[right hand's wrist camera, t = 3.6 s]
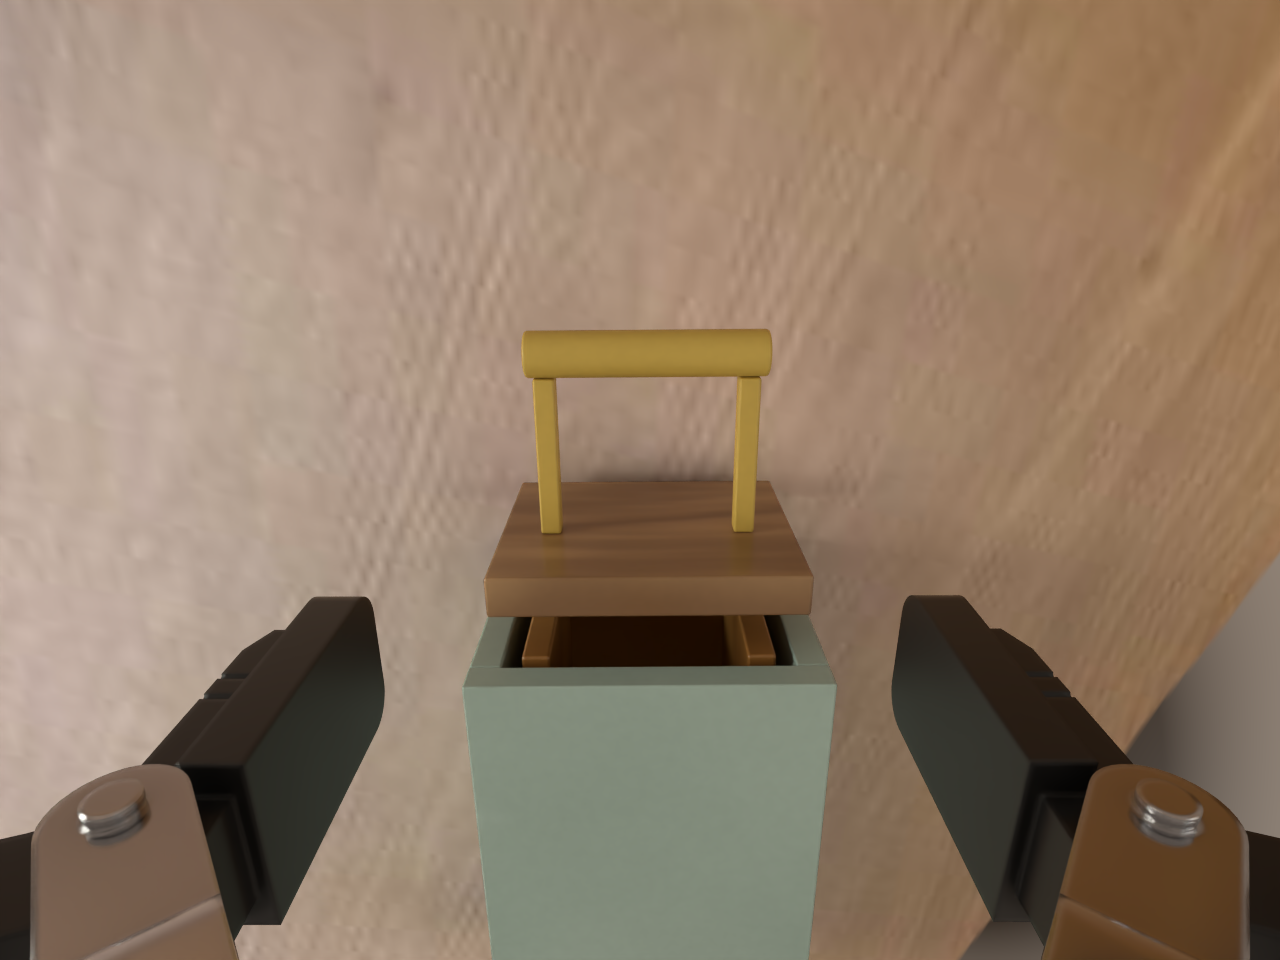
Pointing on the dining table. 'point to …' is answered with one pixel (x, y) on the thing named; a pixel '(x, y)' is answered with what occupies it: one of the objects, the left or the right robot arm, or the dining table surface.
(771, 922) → the cabinet
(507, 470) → the dining table surface
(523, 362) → the drawer
